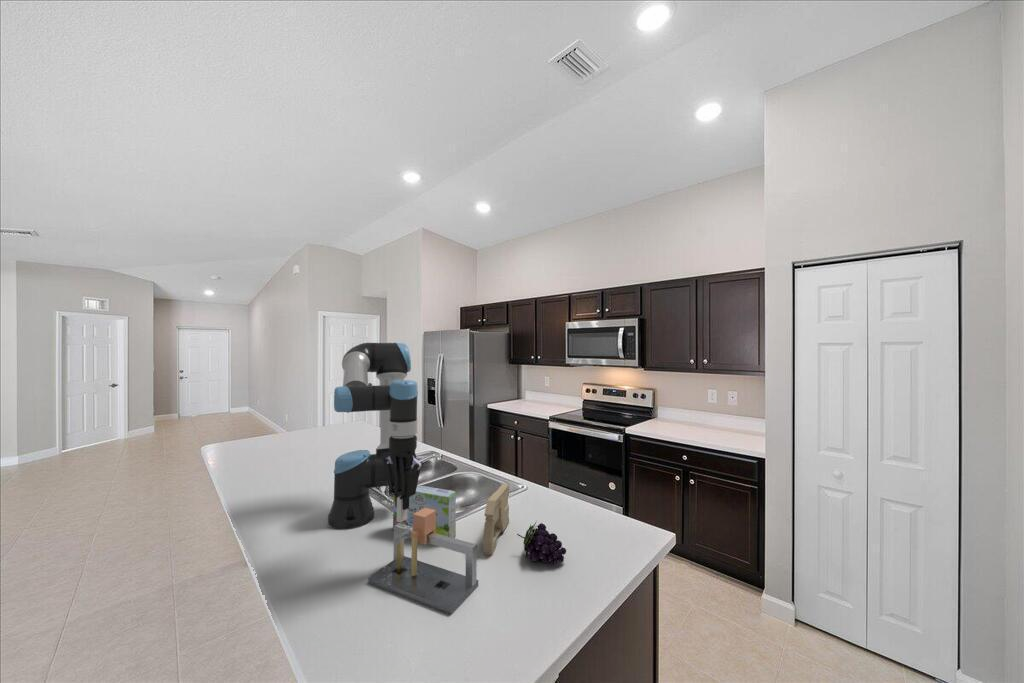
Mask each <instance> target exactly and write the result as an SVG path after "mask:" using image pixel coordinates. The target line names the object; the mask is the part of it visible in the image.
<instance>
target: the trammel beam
mask: <svg viewBox="0 0 1024 683" xmlns="http://www.w3.org/2000/svg"><path fill="white" fill-rule="evenodd" d="M411 532H413V527H411V526H408V525H404V524H400V523H398V524H397V525H395V526H394V532H393V556H392V557H393V560H394V561H397V574H398V575H400V574H402V559H404V556H405V540H407V539H408V538H409V539H412V537H411ZM427 544H428V545H434V546H436V547H440V548H443V549H445V550H450V551H454V552H457V553H461V554H464V555H465V576H466V579H465V584H466V585H469V586H473V585H474V584H475V583H476V579H477V569H478V568H477V566H478V565H477V562H478V560H477V558H478V556H477V554H478V552H477V551H478V550H477V549H478V548H477V546H478V545H477V544H476V543H473V542H468V541H465V540H461V539H458V538H456V537H454V538H451V537H448V536H444V535H440V534H437V533H433V532H430V533H429V534H427ZM393 560H392V561H393Z"/></svg>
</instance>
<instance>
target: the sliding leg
mask: <svg viewBox="0 0 1024 683" xmlns="http://www.w3.org/2000/svg"><path fill="white" fill-rule="evenodd" d="M435 529H436V510H433V509H428V508H423V509H421V510H420V511H418V512H416V513H414V514H413V532H411V537H412V538H411V558H412V559H411V575H413V576H415V575H416V574H417V560H418V544H421V545H424V546H425V545H426V544H428V543H427V534H429V533H430V532H433V533H435Z"/></svg>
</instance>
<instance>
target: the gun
mask: <svg viewBox="0 0 1024 683" xmlns="http://www.w3.org/2000/svg"><path fill="white" fill-rule="evenodd" d="M509 497H510V483H509V484H508V483H501V485H500V486H499V487H498V488H497V489H496V491H494V492H493V493H492V494H491V495H490V497H489V498H487V501H486V506H485V510H484V513H483V514H484V517H485V519H484V520H485V521H484V529H483V539H482V545H483V546H482V547H483V555H484V556H485V555H486V556H493V555H494V552H495V549H496V547H497V542H498V541H497V539H498V537H499V535H500V534H501V533H503V532H504V531H505V529H506V527H507V526H508V524H509V522H510V516H509V514H510V512H509V511H510V505H509Z"/></svg>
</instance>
